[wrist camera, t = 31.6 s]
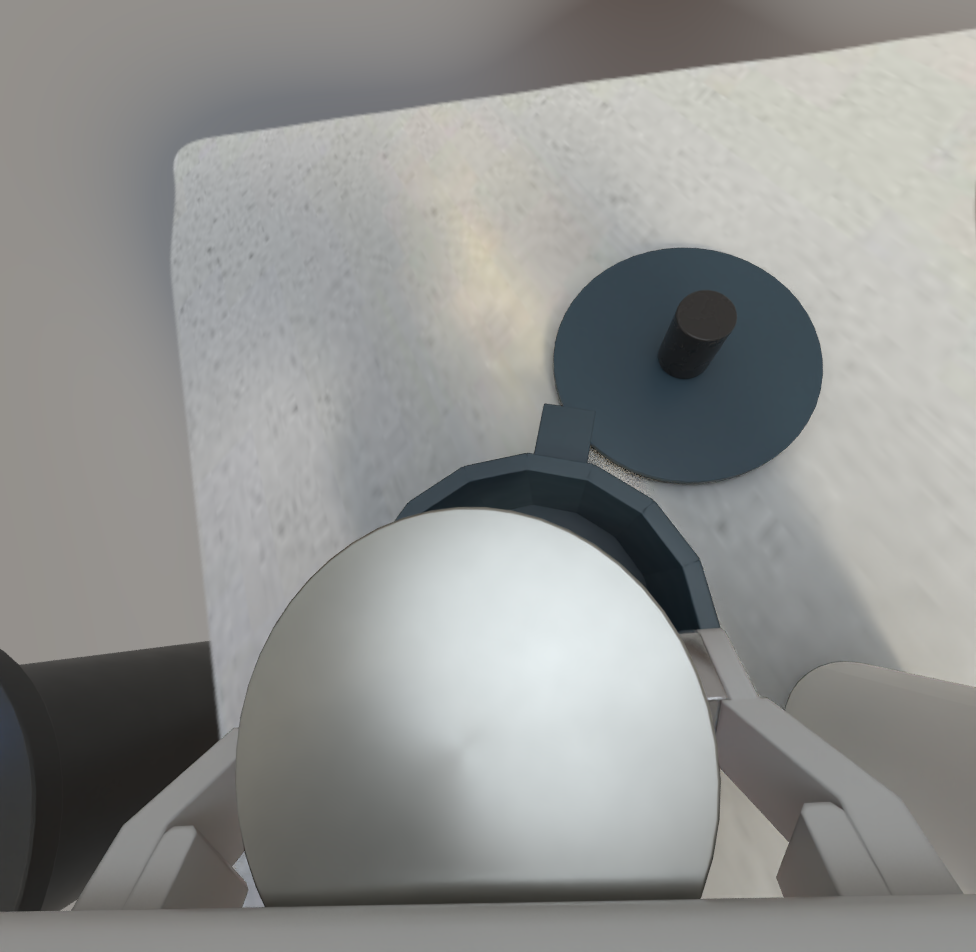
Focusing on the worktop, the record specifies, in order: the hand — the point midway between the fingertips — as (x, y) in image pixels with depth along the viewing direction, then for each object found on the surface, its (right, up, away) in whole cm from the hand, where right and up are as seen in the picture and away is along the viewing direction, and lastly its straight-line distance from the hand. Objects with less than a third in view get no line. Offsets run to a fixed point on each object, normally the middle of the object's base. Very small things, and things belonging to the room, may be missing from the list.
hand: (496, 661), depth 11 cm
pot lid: (+12, +11, +19) cm, 25 cm away
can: (+1, -2, +4) cm, 5 cm away
